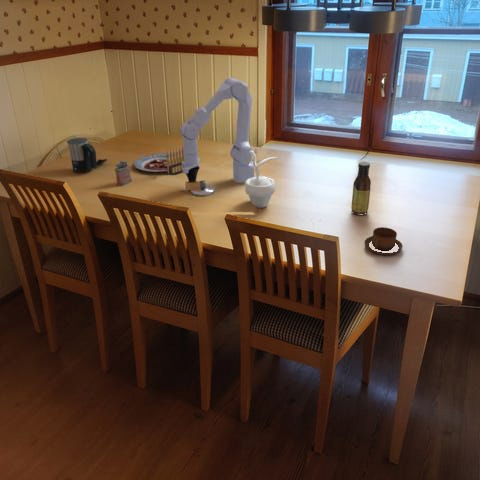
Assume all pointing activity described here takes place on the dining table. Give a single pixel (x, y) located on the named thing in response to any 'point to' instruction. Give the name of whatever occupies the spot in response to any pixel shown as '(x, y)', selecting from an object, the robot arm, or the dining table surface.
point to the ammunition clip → (175, 162)
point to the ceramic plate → (152, 163)
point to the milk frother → (83, 155)
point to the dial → (199, 188)
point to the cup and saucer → (383, 240)
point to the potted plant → (259, 185)
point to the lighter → (123, 173)
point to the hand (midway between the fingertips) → (192, 183)
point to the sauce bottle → (361, 189)
